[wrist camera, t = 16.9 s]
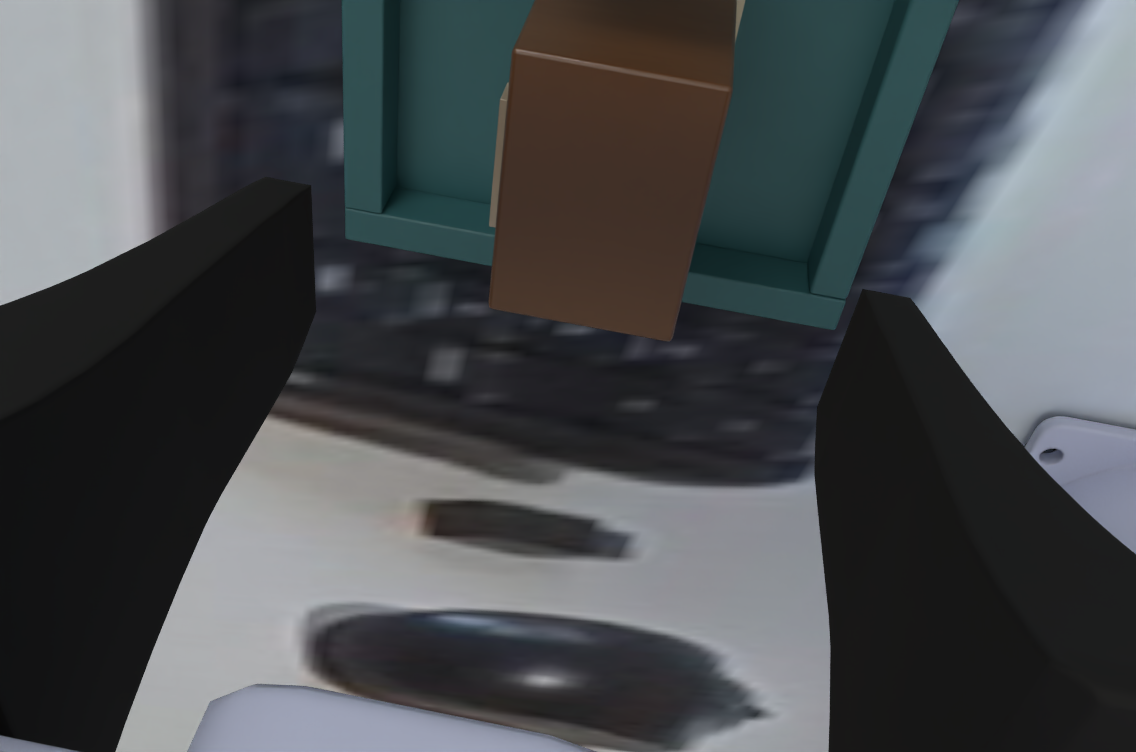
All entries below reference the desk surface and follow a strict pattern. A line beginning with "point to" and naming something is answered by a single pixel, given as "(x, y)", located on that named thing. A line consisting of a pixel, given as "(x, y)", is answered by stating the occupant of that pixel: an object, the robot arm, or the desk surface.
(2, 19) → the desk surface
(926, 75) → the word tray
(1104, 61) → the desk surface
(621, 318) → the brown rectangular block
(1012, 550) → the robot arm
